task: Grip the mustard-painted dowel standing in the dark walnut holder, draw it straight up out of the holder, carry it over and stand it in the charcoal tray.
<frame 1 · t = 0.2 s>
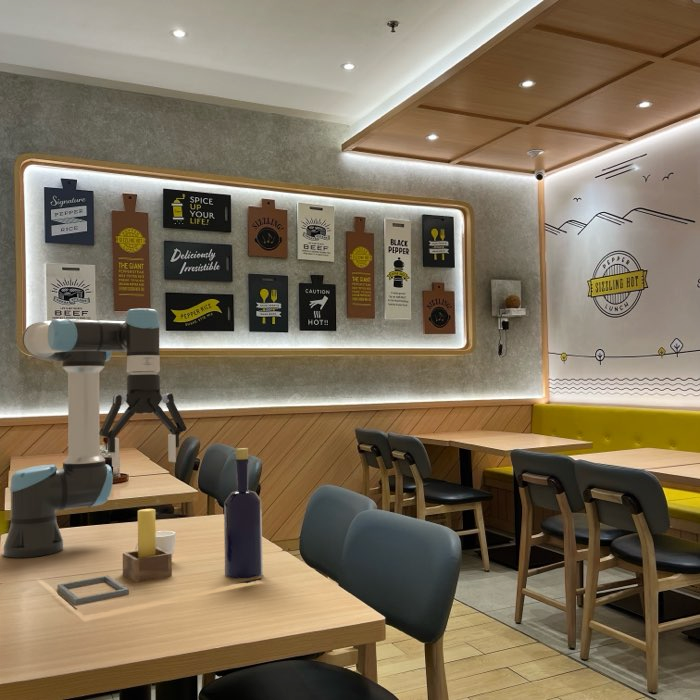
hand: (144, 464, 164), 27 cm above the table, fingers open, 13 cm apart
bottle: (244, 578, 163), on the table
holder: (147, 579, 164), on the table
dowel: (147, 574, 164), point 1 cm above the table, touching holder
cup: (155, 567, 175), on the table
tray: (92, 596, 151), on the table
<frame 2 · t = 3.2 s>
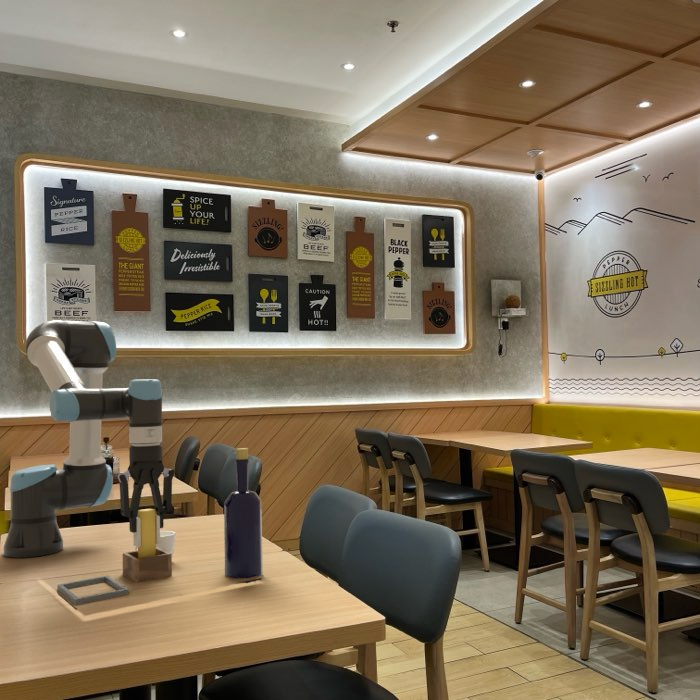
hand: (146, 544, 164), 8 cm above the table, fingers closed on dowel, 4 cm apart
dowel: (147, 574, 164), point 1 cm above the table, touching gripper, holder
everything else where it was.
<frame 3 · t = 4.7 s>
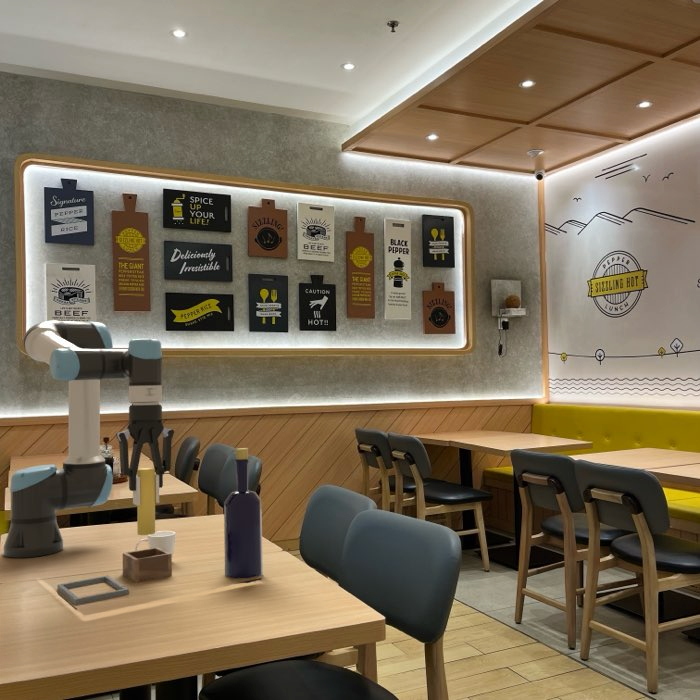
hand: (146, 503, 165), 18 cm above the table, fingers closed on dowel, 4 cm apart
dowel: (146, 533, 164), point 11 cm above the table, touching gripper
everything else where it was.
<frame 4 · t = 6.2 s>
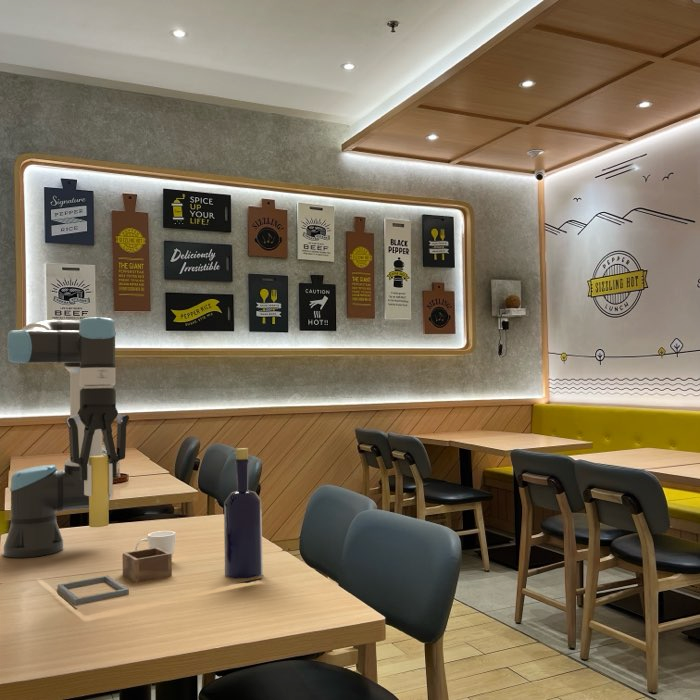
hand: (98, 493, 153), 22 cm above the table, fingers closed on dowel, 4 cm apart
dowel: (98, 525, 153), point 15 cm above the table, touching gripper
everything else where it was.
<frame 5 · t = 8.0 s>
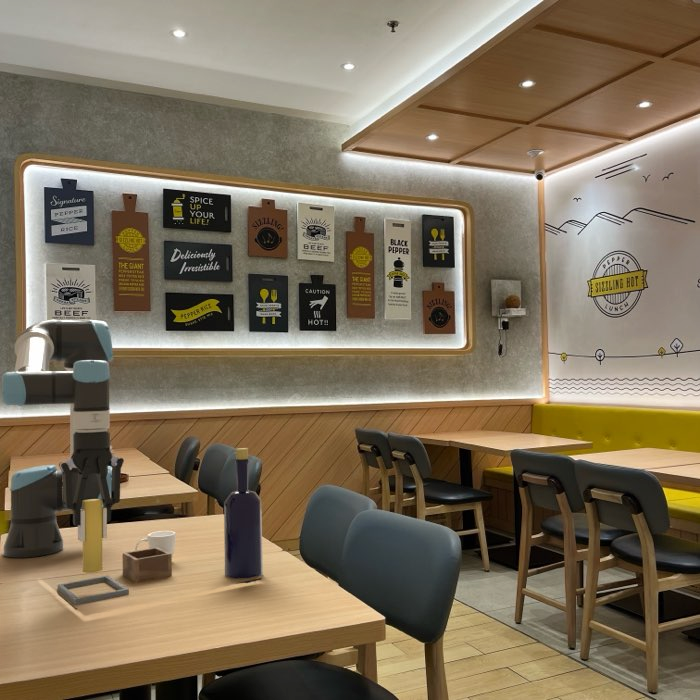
hand: (92, 538, 152), 12 cm above the table, fingers closed on dowel, 4 cm apart
dowel: (92, 570, 151), point 6 cm above the table, touching gripper
everything else where it was.
when the fingers open (9 cm above the table, at t = 9.4 s): dowel drops 2 cm, resting on tray.
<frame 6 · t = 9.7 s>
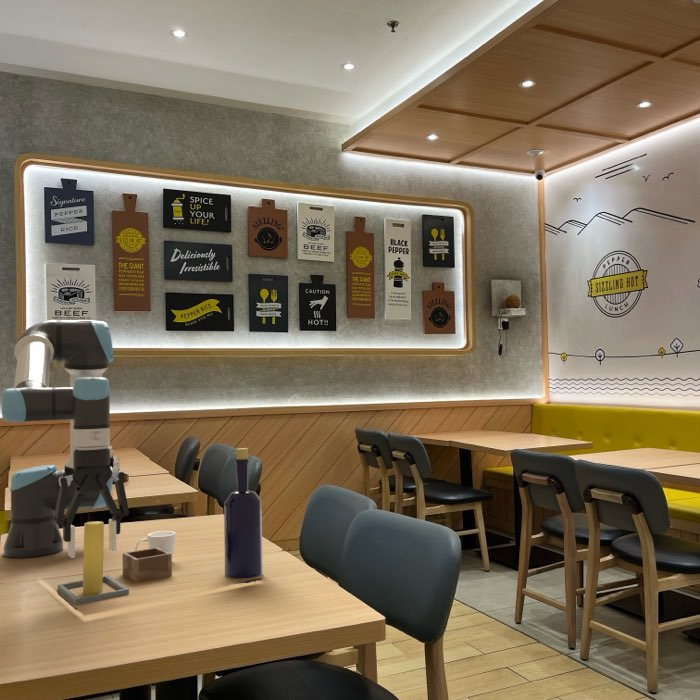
hand: (92, 552, 152), 9 cm above the table, fingers open, 8 cm apart
dowel: (92, 593, 151), point 1 cm above the table, touching tray
everything else where it was.
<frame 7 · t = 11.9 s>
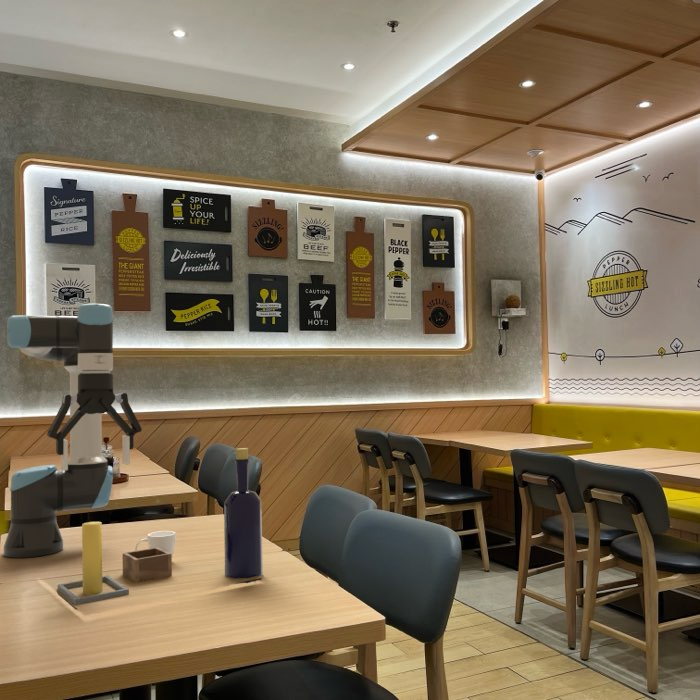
hand: (96, 466, 157), 27 cm above the table, fingers open, 13 cm apart
nothing on the table moved.
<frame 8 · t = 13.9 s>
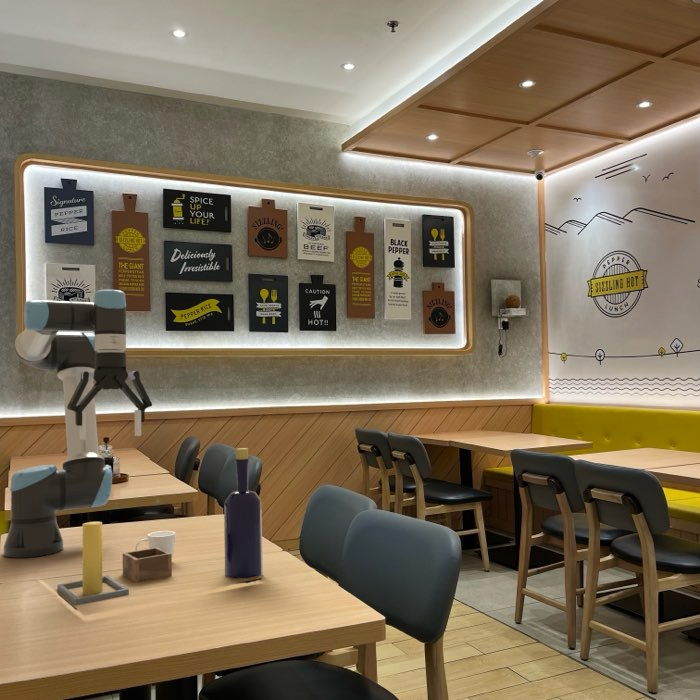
hand: (111, 437, 173), 33 cm above the table, fingers open, 13 cm apart
nothing on the table moved.
at the end: dowel inside the target area on the tray (0.0 cm from its centre), point 0.6 cm above the tray's base; dowel tilted 0°; the gripper is holding nothing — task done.
